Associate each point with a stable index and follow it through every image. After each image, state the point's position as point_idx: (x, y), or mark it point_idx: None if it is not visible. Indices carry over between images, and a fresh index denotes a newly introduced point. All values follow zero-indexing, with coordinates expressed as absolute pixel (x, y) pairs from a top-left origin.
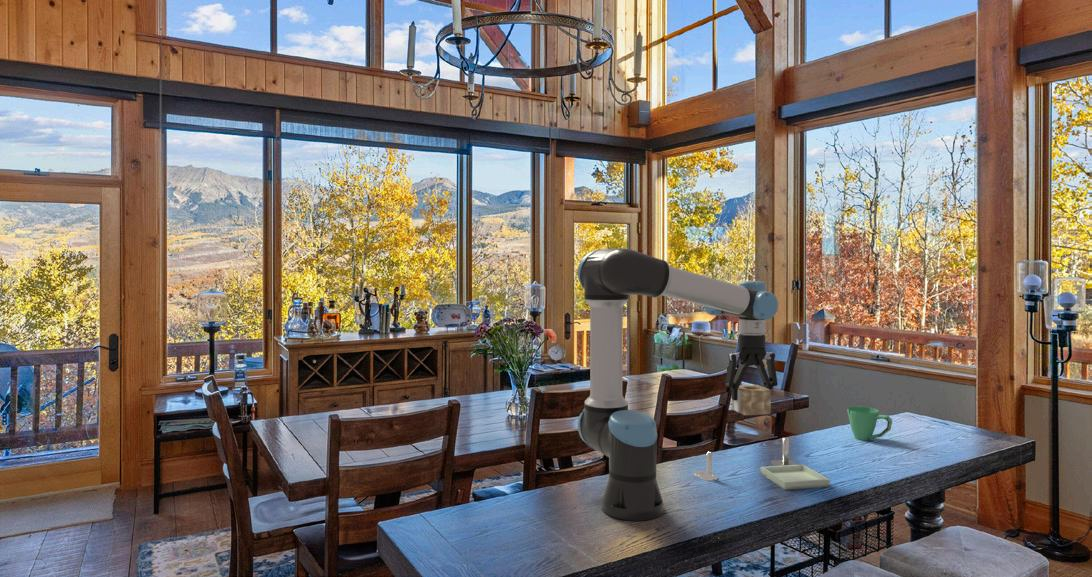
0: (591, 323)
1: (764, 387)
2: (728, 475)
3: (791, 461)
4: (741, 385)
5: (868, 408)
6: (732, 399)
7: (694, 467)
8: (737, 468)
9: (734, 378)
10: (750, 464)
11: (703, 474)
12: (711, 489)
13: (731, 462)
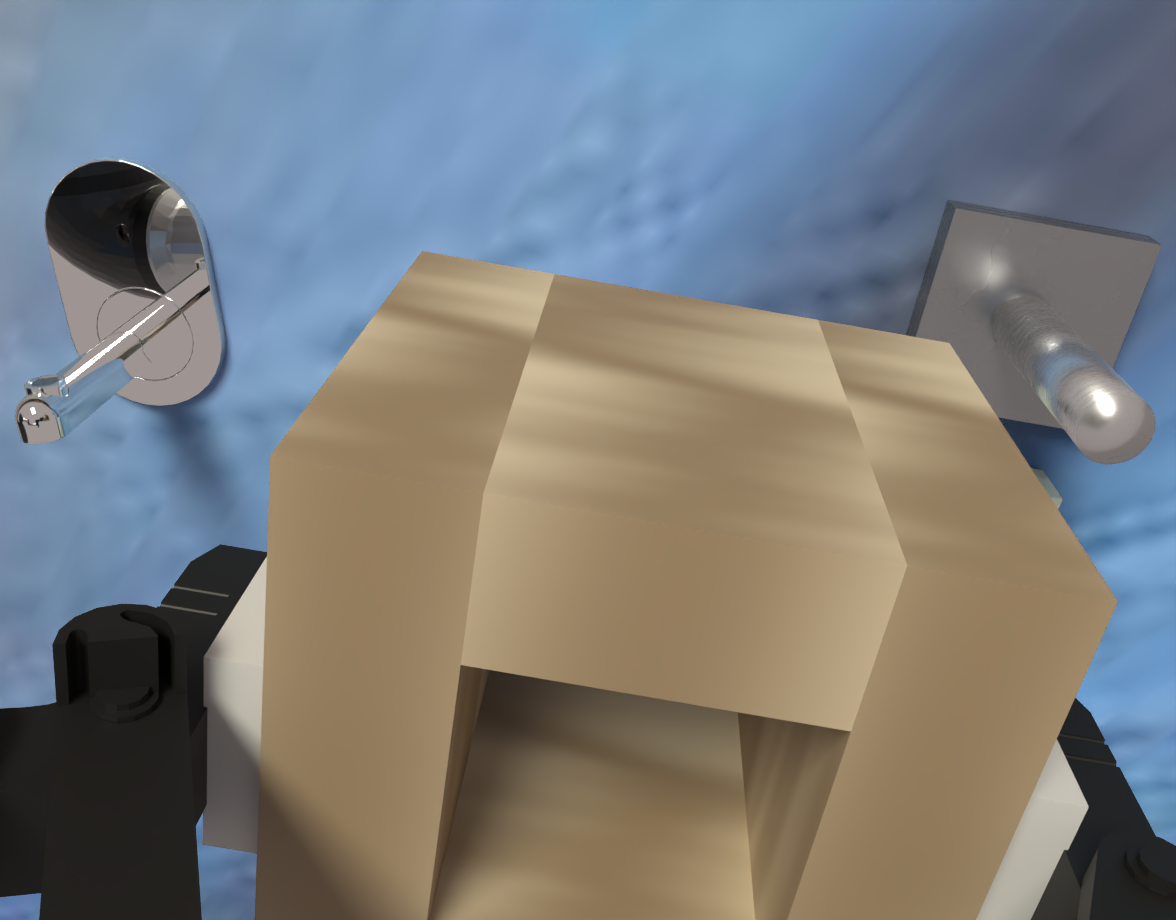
0: None
1: (1067, 835)
2: (347, 336)
3: (1124, 303)
4: (572, 517)
5: None
6: (218, 561)
7: (132, 19)
8: (536, 200)
9: (43, 917)
10: (740, 138)
11: (119, 271)
12: (66, 544)
13: (593, 5)
